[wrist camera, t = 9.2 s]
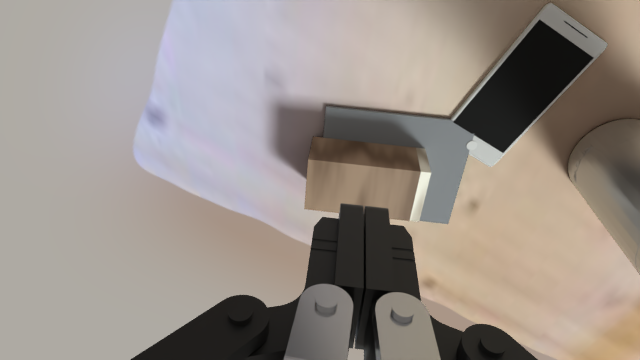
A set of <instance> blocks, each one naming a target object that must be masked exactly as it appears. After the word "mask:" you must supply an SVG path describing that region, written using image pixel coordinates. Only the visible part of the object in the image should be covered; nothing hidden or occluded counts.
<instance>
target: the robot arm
mask: <svg viewBox="0 0 640 360" xmlns="http://www.w3.org/2000/svg"><path fill="white" fill-rule="evenodd" d="M568 173H569V178H570V179H571V181H572V183H573V184H574V186H575V187H576V188H577V190H578V191H579V193H580V194H581V195H582V197H583V198H584V199H585V201H586V202H587V204H588V205H589V206H590V208H591V209H592V210H593V212H594V213H595V215H596V216H597V217H598V219H599V220H600V221H601V223H602V224H603V225H604V227H605V228H606V229H607V231H608V232H609V233H610V235H611V236H612V238H613V239H614V240H615V242H616V243H617V244H618V246H619V247H620V248H621V250H622V251H623V252H624V254H625V255H626V257H627V258H628V259H629V261H630V262H631V263H632V265H633V266H634V267H635V269H636V270H637V271H638V273H639V274H640V120H637V119H620V120H616V121H612V122H609V123H606V124H604V125H601V126H599V127H597V128H596V129H594V130H592V131H591V132H589V133H588V134H587V135H586V136H585V137H583V138H582V139H581V140H580V141H579V143H578V144H577V145H576V146H575V148H574V150H573V151H572V153H571V155H570V158H569V162H568ZM354 338H355V348H356V349H363V350H364V360H537V359H536V358H535V357H534V356H533V355H532V354H530V353H529V352H528V351H526V350H525V348H523V347H522V346H521V345H520V344H519V343H518V342H516V341H515V340H514V339H513V338H512V337H511V336H510V335H508V334H507V333H506V332H504V331H502V330H501V329H499V328H497V327H494V326H491V325H487V324H475V325H472V326H470V327H468V328H467V329H466V330H465V331H464V332H462V331H459V330H457V329H454V328H452V327H449V326H447V325H445V324H442V323H440V322H439V321H437V320H436V319H434V318H433V317H432V316H431V315H430V314H429V312H428V310H427V308H426V306H425V305H424V304H423V303H422V302H421V298H420V292H419V285H418V278H417V271H416V264H415V257H414V252H413V242H412V237H411V236H410V234H409V233H408V232H407V230H406V229H405V227H404V226H398V225H390V221H389V210H388V208H381V207H372V206H365V207H363V206H362V205H353V204H344V203H341V204H340V211H339V219H335V218H326V217H322V218H321V219H320V220H319V222H318V223H317V224H316V225H315V226H314V231H313V238H312V245H311V252H310V258H309V265H308V271H307V278H306V285H305V289H304V291H303V292H302V294H301V295H300V296H299V297H298V298H297V299H296V300H294V301H293V302H290V303H288V304H285V305H282V306H275V307H269V308H267V307H266V305H265V304H264V303H263V302H262V301H261V300H259V299H257V298H255V297H253V296H248V295H236V296H232V297H229V298H227V299H225V300H223V301H221V302H220V303H218V304H217V305H215V306H214V307H212V308H210V309H209V310H207V311H206V312H204V313H203V314H201V315H200V316H198V317H196V318H195V319H193V320H192V321H190V322H189V323H187V324H185V325H184V326H182V327H181V328H179V329H178V330H176V331H175V332H173V333H171V334H170V335H168V336H167V337H165V338H164V339H162V340H160V341H159V342H157V343H156V344H154V345H153V346H151V347H150V348H148V349H146V350H145V351H143V352H142V353H140V354H139V355H137V356H135V357H134V358H132V359H131V360H347V357H348V351H349V348H353V343H354Z"/></svg>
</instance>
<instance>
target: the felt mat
mask: <svg viewBox="0 0 640 360" xmlns="http://www.w3.org/2000/svg"><path fill="white" fill-rule="evenodd" d="M453 122H454V121H453V120H451V119H448V118H439V117H429V116H420V115H410V114H401V113H391V112H382V111H372V110H363V109H353V108H344V107H334V106H326V112H325V123H324V134H323V138H332V139H341V140H350V141H359V142H369V143H378V144H387V145H396V146H406V147H415V148H424V149H425V150H426V154H427V158H428V162H429V166H430V170H431V176H430V180H429V184H428V188H427V192H426V196H425V200H424V204H423V208H422V212H421V216H420V220H419V221H426V222H435V223H443V224H448V222H449V219H450V216H451V212H452V209H453V205H454V202H455V198H456V195H457V192H458V188H459V185H460V181H461V178H462V174H463V171H464V168H465V164H466V161H467V157H468V154H469V150H468V149H467V147H466V145H467V143H468V142H470V141H472V140H473V137H474V133H473V134H471V133H470V132H468V131H466V130H465V129H463V128H461V127H460V126H458V125H457V124H455V123H453Z"/></svg>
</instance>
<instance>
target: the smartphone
mask: <svg viewBox="0 0 640 360" xmlns="http://www.w3.org/2000/svg"><path fill="white" fill-rule="evenodd" d="M606 47H607V43H606V42H605V41H603V40H602V39H601V38H599V37H598V36H597V35H595V34H594V33H592V32H591V31H590V30H588V29H587V28H586V27H584V26H583V25H581V24H580V23H579V22H577V21H576V20H575V19H573V18H572V17H570V16H569V15H568V14H566V13H565V12H564V11H562V10H561V9H559V8H558V7H557V6H555V5H554V4H552V3H548V4H546V5H545V6H544V7H543V8H542V9H541V11H540V12H539V13H538V14H537V15H536V17H535V18H534V19H533V20H532V21H531V23H530V24H529V25H528V26H527V27H526V29H525V30H524V31H523V32H522V33H521V35H520V36H519V37H518V38H517V39H516V41H515V42H514V43H513V44H512V45H511V47H510V48H509V49H508V50H507V51H506V53H505V54H504V55H503V56H502V57H501V59H500V60H499V61H498V62H497V63H496V65H495V66H494V67H493V68H492V69H491V71H490V72H489V73H488V74H487V75H486V77H485V78H484V79H483V80H482V81H481V83H480V84H479V85H478V86H477V87H476V89H475V90H474V91H473V92H472V94H471V95H470V96H469V97H468V98H467V100H466V101H465V102H464V103H463V104H462V106H461V107H460V108H459V109H458V110H457V112H456V113H455V114H454V115H453V116H452V118H451V120H453V121H454V122H453V123H455V124H457V125H458V126H460V127H461V128H463V129H465V130H466V131H468V132H470V133H471V134H473V133H474V137H473V140H472V141H470V142H468V143H467V145H466V147H467V149H468V150H469V155H471V156H473V157H474V158H476V159H478V160H479V161H481V162H483V163H484V164H486V165H488V166H489V167H491V166H493V165H495V164H496V163H497V162H498V161H499V160H500V159H501V158H502V157H503V156H504V154H505V153H506V152H507V151H508V150H509V149H510V148H511V147H512V146H513V145H514V144H515V143H516V142H517V141H518V140H519V139H520V138H521V137H522V136H523V135H524V134H525V133H526V132H527V130H528V129H529V128H530V127H531V126H532V125H533V124H534V123H535V122H536V121H537V120H538V119H539V118H540V117H541V116H542V115H543V114H544V113H545V112H546V111H547V110H548V109H549V108H550V106H551V105H552V104H553V103H554V102H555V101H556V100H557V99H558V98H559V97H560V96H561V95H562V94H563V93H564V92H565V91H566V90H567V89H568V88H569V87H570V86H571V85H572V84H573V82H574V81H575V80H576V79H577V78H578V77H579V76H580V75H581V74H582V73H583V72H584V71H585V70H586V69H587V68H588V67H589V66H590V65H591V64H592V63H593V62H594V61H595V60H596V58H597V57H598V56H599V55H600V54H601V53H602V52H603V51H604V50H605V49H606Z"/></svg>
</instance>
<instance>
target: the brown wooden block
mask: <svg viewBox="0 0 640 360" xmlns="http://www.w3.org/2000/svg"><path fill="white" fill-rule="evenodd" d="M430 176H431V170H430V166H429V162H428V158H427V154H426V150H425V149H424V148H415V147H406V146H396V145H387V144H378V143H369V142H359V141H350V140H341V139H332V138H322V137H313V139H312V144H311V148H310V153H309V158H308V168H307V181H306V195H305V208H304V209H308V210H317V211H326V212H335V213H339V211H340V204H341V203H344V204H353V205H362V206H363V207H365V206H372V207H381V208H388V210H389V219H397V220H406V221H415V222H419V220H420V216H421V212H422V208H423V204H424V200H425V196H426V192H427V188H428V184H429V180H430Z"/></svg>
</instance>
